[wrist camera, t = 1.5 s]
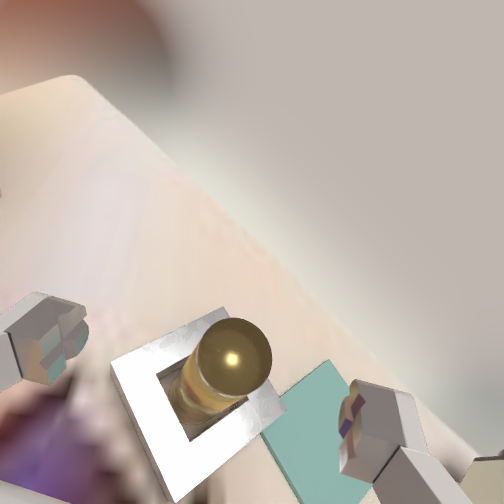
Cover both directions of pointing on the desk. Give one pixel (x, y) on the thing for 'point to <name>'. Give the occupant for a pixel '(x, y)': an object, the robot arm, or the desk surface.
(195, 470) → the housing
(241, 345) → the brass cylinder
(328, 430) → the pad
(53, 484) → the desk surface
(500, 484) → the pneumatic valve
